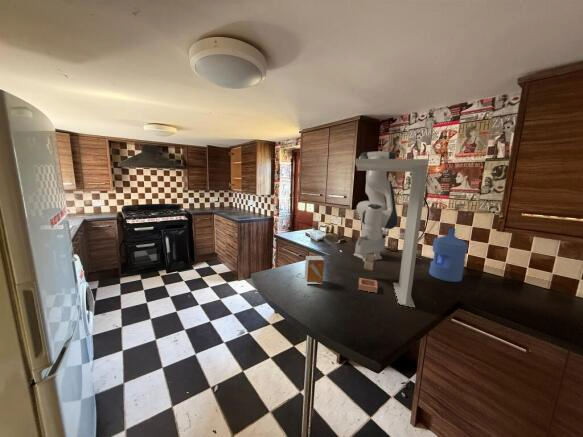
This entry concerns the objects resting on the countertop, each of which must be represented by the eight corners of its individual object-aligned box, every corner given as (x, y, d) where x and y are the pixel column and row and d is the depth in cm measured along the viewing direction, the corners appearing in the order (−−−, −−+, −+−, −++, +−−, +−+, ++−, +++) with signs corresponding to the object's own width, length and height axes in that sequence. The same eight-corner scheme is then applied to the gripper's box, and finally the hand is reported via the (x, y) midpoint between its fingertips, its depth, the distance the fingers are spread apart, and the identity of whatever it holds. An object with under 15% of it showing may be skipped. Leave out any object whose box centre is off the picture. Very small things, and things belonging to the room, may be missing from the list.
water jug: (451, 272, 136) (458, 226, 132) (468, 283, 121) (477, 232, 117) (423, 270, 138) (430, 225, 134) (437, 281, 122) (445, 230, 118)
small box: (306, 285, 111) (308, 259, 109) (304, 279, 117) (305, 255, 115) (322, 285, 112) (324, 259, 110) (319, 279, 118) (321, 255, 116)
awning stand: (348, 277, 123) (357, 163, 114) (406, 286, 114) (421, 164, 105) (344, 295, 102) (355, 158, 93) (414, 308, 93) (434, 159, 84)
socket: (358, 283, 116) (359, 277, 115) (376, 286, 113) (376, 280, 113) (358, 290, 108) (358, 284, 107) (376, 293, 105) (377, 287, 105)
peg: (364, 266, 125) (365, 251, 124) (371, 267, 124) (373, 251, 123) (364, 269, 121) (366, 253, 120) (372, 270, 120) (374, 254, 119)
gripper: (363, 238, 112) (360, 265, 114) (388, 234, 123) (385, 259, 125) (353, 235, 117) (351, 261, 119) (378, 232, 128) (376, 256, 130)
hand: (369, 260), depth 122 cm, fingers closed on peg, 6 cm apart
